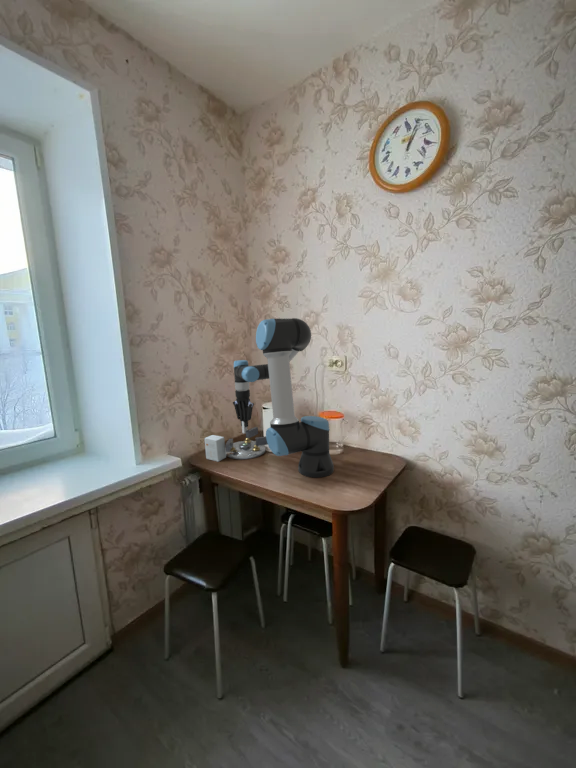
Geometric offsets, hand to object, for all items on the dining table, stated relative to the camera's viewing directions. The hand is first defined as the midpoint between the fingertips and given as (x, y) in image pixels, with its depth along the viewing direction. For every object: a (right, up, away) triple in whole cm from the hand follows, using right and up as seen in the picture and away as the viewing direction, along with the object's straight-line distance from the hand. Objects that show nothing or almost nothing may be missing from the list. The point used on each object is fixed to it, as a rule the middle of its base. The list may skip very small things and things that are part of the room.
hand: (245, 432), depth 179 cm
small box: (-11, -10, -20) cm, 25 cm away
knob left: (-5, -7, -19) cm, 21 cm away
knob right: (+4, -4, -3) cm, 6 cm away
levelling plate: (+2, -8, -13) cm, 15 cm away
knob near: (+11, -6, -16) cm, 20 cm away
